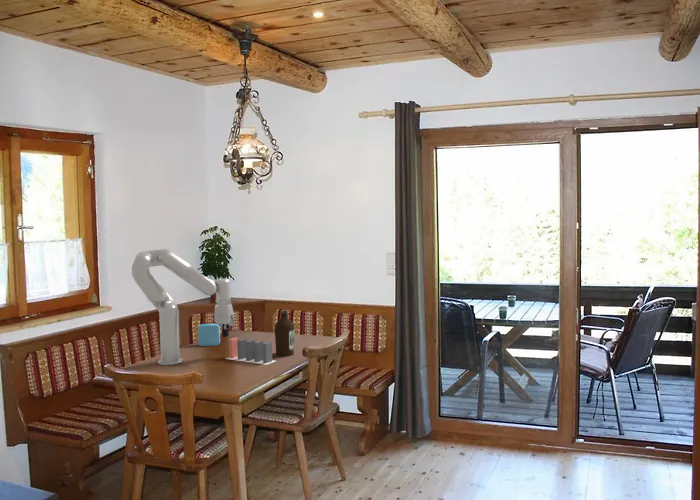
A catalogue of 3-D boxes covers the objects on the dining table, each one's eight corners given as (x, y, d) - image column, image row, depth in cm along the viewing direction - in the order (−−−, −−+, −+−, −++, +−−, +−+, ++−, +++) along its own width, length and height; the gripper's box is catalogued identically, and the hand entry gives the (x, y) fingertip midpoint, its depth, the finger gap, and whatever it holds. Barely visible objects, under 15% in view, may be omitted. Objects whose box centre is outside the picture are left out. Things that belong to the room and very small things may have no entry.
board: (224, 360, 340) (224, 358, 340) (235, 357, 348) (235, 354, 348) (266, 367, 327) (266, 364, 327) (276, 363, 335) (276, 360, 334)
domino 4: (263, 362, 330) (262, 343, 329) (269, 360, 334) (268, 341, 334) (266, 363, 329) (265, 344, 328) (272, 361, 333) (271, 342, 333)
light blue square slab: (220, 343, 380) (219, 323, 379) (219, 345, 376) (219, 325, 375) (199, 344, 379) (198, 324, 378) (198, 346, 375) (197, 325, 374)
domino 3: (254, 361, 333) (254, 342, 332) (260, 359, 337) (260, 340, 336) (257, 362, 332) (257, 342, 331) (263, 360, 336) (263, 340, 335)
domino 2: (246, 360, 336) (245, 341, 335) (252, 358, 340) (251, 339, 339) (249, 360, 335) (248, 341, 334) (255, 358, 339) (254, 339, 338)
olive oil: (272, 358, 344) (271, 311, 342) (279, 353, 355) (278, 308, 353) (291, 359, 342) (290, 312, 340) (297, 354, 352) (296, 309, 350)
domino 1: (237, 359, 338) (237, 340, 337) (243, 357, 343) (243, 338, 342) (240, 359, 337) (240, 340, 336) (246, 357, 342) (246, 338, 341)
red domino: (229, 358, 341) (229, 339, 340) (235, 356, 345) (235, 337, 345) (232, 358, 340) (232, 339, 339) (238, 356, 344) (238, 337, 344)
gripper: (208, 302, 344) (210, 336, 346) (230, 304, 337) (231, 338, 338) (217, 300, 351) (219, 333, 352) (239, 301, 343) (241, 335, 345)
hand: (225, 336), depth 345 cm, fingers closed
